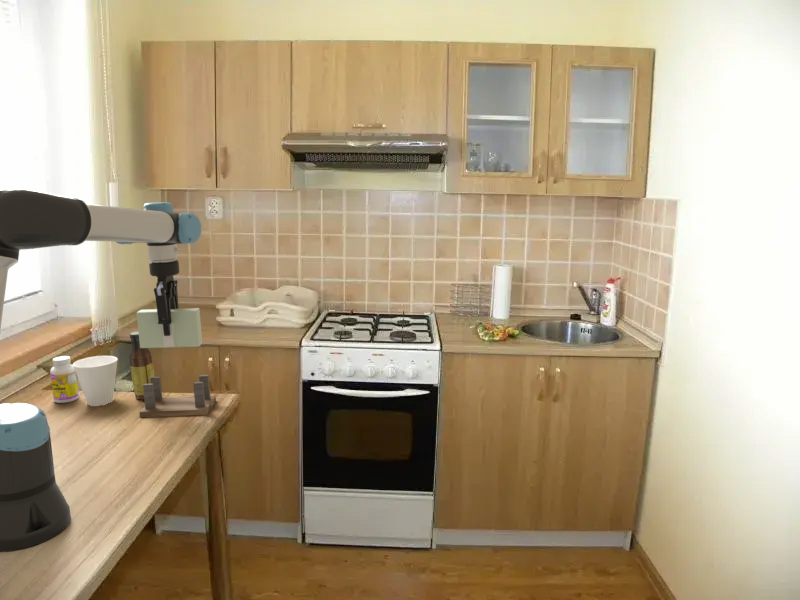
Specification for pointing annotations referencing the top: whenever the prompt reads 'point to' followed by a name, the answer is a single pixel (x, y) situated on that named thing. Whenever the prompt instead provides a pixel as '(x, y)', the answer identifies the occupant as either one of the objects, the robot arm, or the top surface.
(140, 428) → the top surface
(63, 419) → the top surface
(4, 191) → the robot arm
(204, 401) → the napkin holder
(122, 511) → the top surface
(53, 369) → the supplement bottle
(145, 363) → the sauce bottle
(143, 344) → the door panel
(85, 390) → the cup
